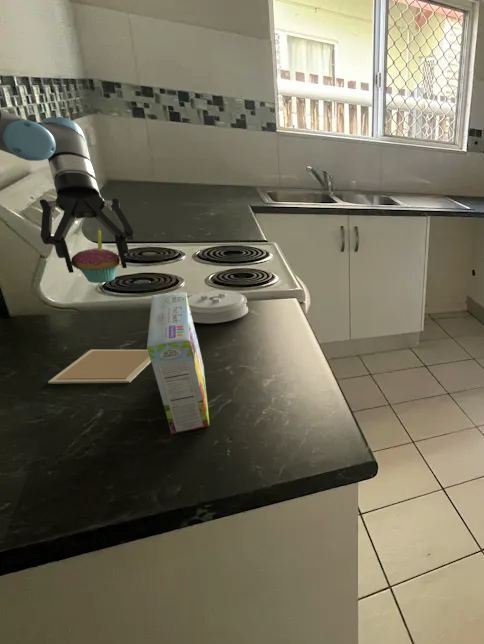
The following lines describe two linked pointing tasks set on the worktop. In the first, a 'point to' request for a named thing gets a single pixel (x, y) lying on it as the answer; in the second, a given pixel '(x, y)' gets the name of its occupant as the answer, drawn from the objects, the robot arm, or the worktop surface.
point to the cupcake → (97, 263)
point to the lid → (217, 306)
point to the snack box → (177, 362)
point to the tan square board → (105, 367)
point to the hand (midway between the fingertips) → (98, 267)
